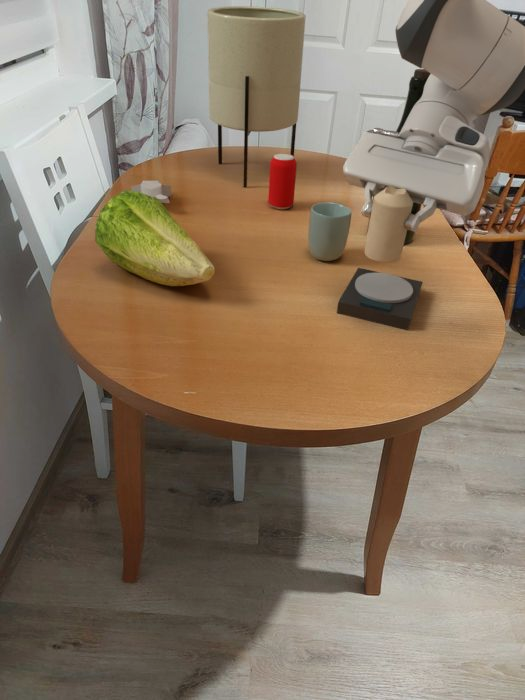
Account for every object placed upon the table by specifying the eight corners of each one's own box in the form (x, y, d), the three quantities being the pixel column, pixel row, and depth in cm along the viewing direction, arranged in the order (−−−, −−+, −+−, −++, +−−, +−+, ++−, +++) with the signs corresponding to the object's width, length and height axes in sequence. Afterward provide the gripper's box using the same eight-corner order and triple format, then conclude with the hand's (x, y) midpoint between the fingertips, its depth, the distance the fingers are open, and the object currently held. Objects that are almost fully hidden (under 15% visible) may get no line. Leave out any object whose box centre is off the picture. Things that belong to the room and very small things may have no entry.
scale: (420, 292, 95) (423, 278, 93) (407, 330, 84) (411, 315, 83) (356, 277, 98) (358, 264, 97) (336, 312, 88) (338, 298, 86)
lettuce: (241, 292, 94) (177, 329, 85) (156, 240, 106) (92, 269, 97) (242, 220, 84) (170, 254, 76) (148, 172, 96) (77, 197, 87)
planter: (201, 187, 138) (195, 14, 114) (220, 157, 157) (218, 3, 133) (288, 195, 137) (301, 21, 112) (296, 164, 155) (309, 9, 131)
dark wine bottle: (414, 249, 110) (456, 76, 91) (365, 242, 112) (395, 71, 92) (413, 230, 119) (450, 68, 99) (367, 224, 120) (395, 63, 101)
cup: (331, 246, 109) (337, 200, 103) (351, 261, 104) (359, 213, 98) (299, 251, 106) (303, 204, 100) (318, 268, 101) (324, 219, 95)
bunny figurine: (169, 176, 129) (172, 189, 116) (171, 197, 131) (174, 212, 118) (130, 177, 127) (129, 190, 114) (132, 198, 130) (131, 213, 117)
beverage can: (294, 211, 125) (298, 160, 118) (268, 210, 124) (271, 159, 117) (291, 202, 130) (295, 152, 122) (267, 201, 129) (269, 152, 122)
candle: (357, 249, 79) (368, 184, 74) (387, 245, 81) (400, 181, 75) (376, 265, 75) (390, 198, 69) (408, 260, 77) (423, 194, 71)
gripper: (362, 112, 77) (320, 192, 77) (500, 140, 68) (453, 231, 67) (370, 138, 83) (331, 213, 82) (499, 167, 74) (456, 252, 73)
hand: (387, 222), depth 75 cm, fingers closed on candle, 5 cm apart
